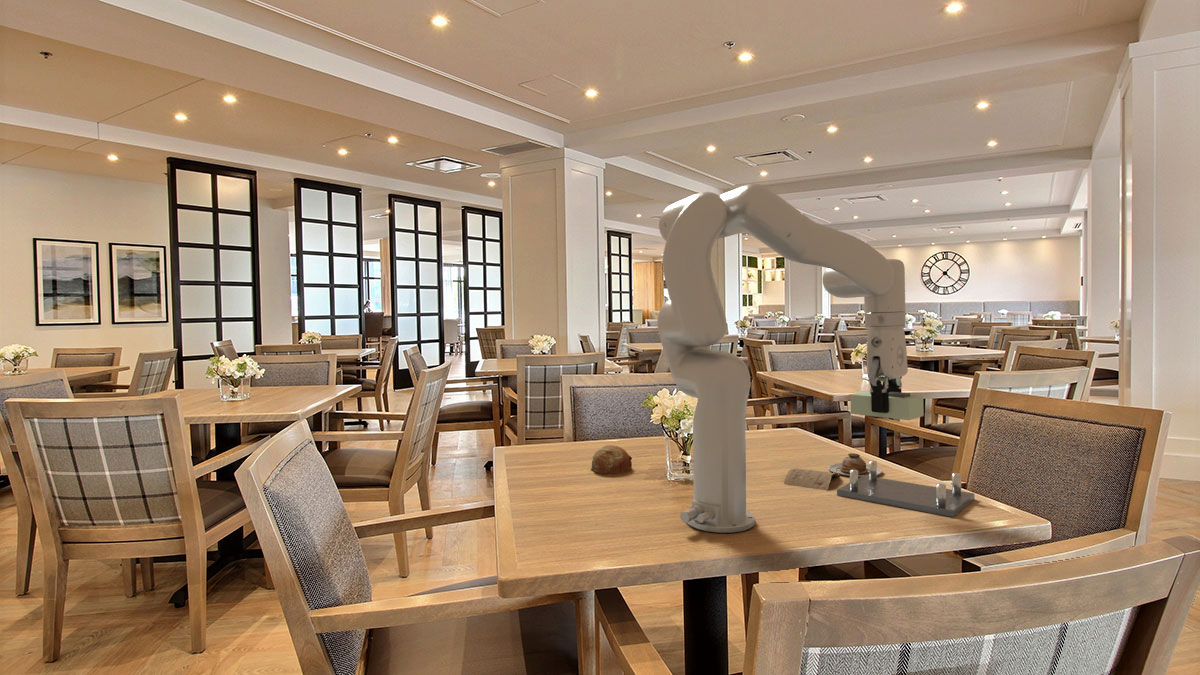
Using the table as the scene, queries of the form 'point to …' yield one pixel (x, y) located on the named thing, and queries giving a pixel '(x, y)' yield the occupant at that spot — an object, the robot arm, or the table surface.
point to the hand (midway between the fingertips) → (886, 408)
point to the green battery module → (899, 405)
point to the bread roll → (611, 460)
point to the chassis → (907, 493)
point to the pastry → (852, 466)
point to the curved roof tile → (809, 478)
